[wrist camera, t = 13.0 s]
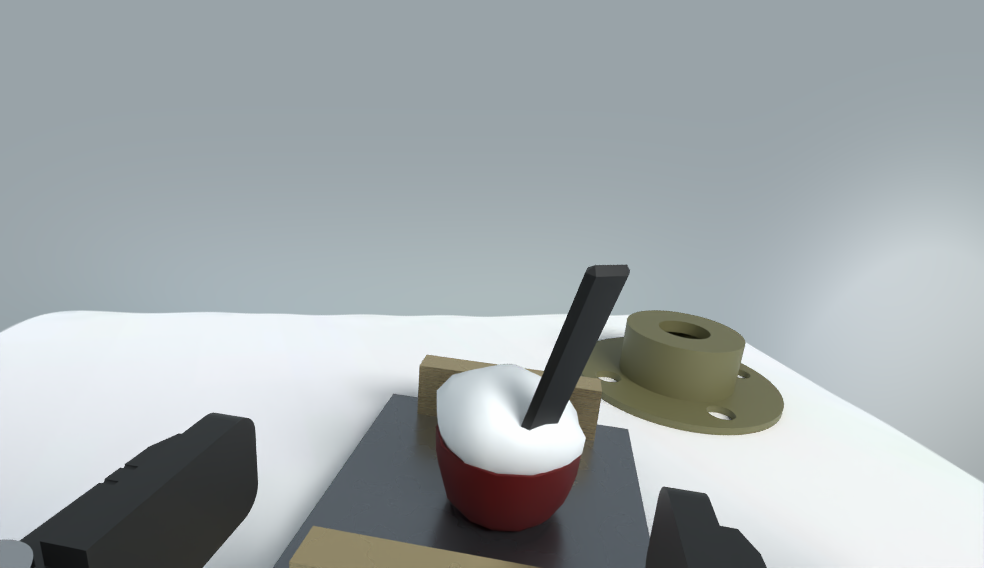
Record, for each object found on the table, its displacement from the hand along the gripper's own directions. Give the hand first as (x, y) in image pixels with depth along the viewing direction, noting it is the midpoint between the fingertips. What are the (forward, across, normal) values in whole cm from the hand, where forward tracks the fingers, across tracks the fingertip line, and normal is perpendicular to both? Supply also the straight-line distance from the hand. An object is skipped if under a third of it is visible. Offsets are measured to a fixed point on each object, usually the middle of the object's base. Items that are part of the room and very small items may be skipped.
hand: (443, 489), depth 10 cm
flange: (+30, -12, +11) cm, 34 cm away
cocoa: (+11, 0, +9) cm, 14 cm away
